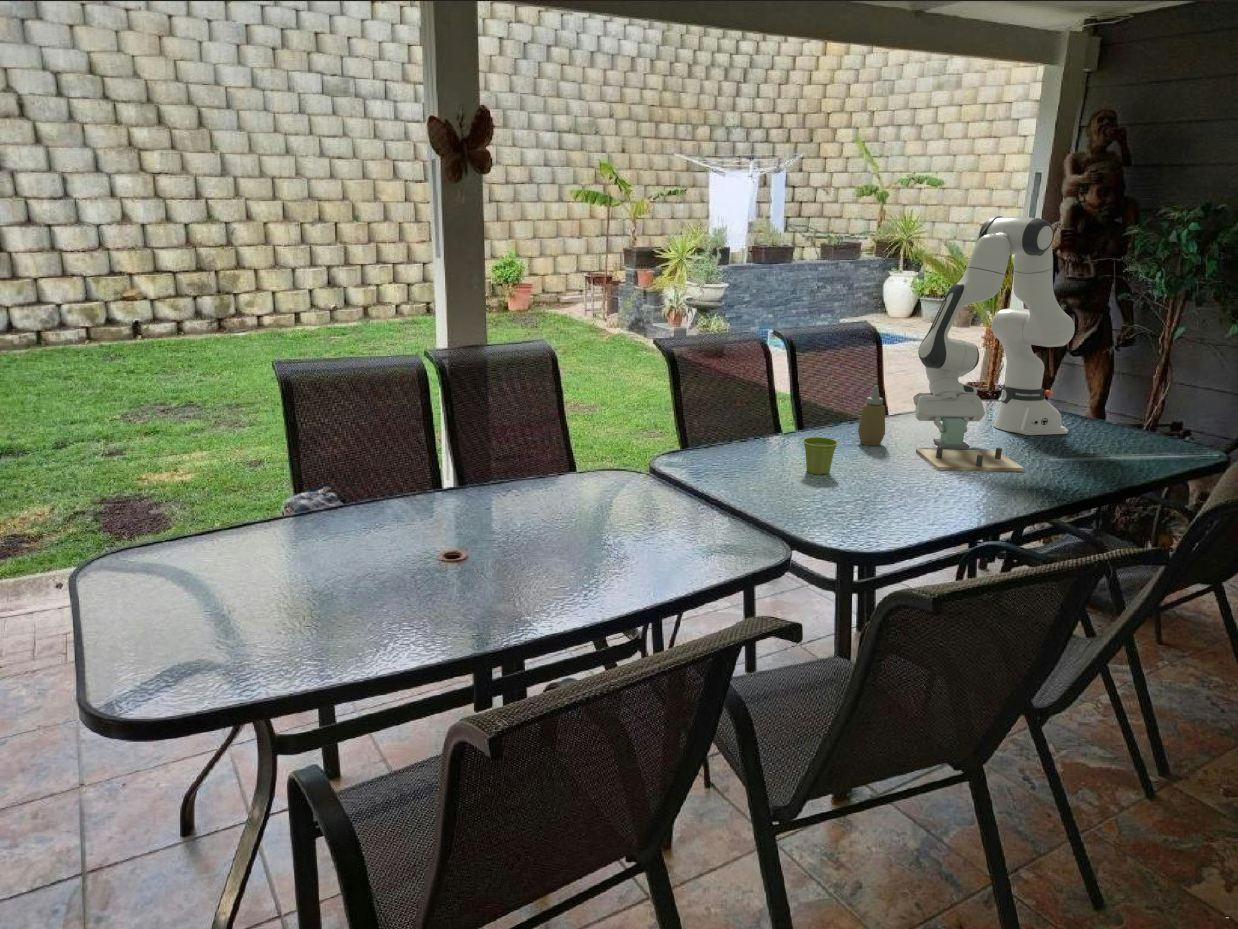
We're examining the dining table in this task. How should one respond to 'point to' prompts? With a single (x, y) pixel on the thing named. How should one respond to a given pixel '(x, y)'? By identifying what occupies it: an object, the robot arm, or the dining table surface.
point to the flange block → (952, 434)
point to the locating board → (968, 460)
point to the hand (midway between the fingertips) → (953, 431)
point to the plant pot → (819, 454)
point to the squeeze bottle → (872, 420)
